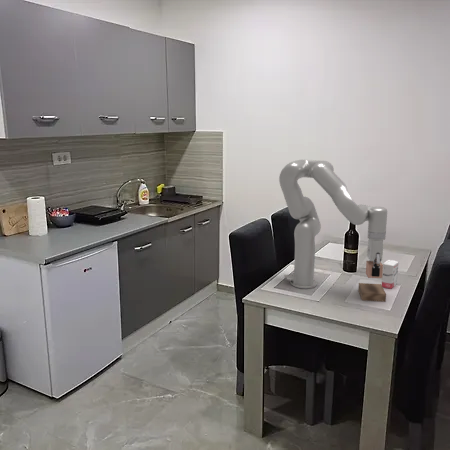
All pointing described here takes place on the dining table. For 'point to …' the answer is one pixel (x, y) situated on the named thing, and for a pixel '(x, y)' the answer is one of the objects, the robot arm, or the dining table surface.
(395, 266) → the ink box
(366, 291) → the walnut block
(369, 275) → the clay cube
